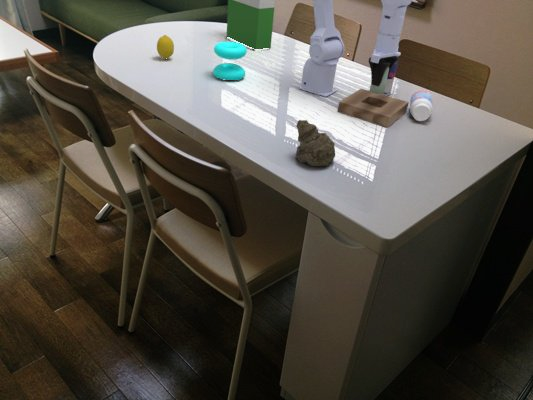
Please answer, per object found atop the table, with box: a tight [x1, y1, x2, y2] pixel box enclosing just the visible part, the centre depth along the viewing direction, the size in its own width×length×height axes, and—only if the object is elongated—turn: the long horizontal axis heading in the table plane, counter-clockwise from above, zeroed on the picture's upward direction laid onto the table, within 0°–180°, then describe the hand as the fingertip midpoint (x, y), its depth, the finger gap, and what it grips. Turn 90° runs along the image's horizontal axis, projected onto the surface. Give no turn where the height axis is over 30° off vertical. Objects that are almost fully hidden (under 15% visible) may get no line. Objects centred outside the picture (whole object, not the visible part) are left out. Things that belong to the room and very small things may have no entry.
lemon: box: [156, 34, 175, 60], centre depth 162 cm, size 6×6×8 cm
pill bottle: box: [409, 89, 433, 122], centre depth 139 cm, size 6×6×11 cm
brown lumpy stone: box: [295, 119, 336, 167], centre depth 110 cm, size 11×12×10 cm
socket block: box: [337, 88, 410, 128], centre depth 139 cm, size 15×15×3 cm
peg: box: [369, 67, 389, 94], centre depth 135 cm, size 4×4×7 cm
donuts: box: [213, 41, 248, 81], centre depth 152 cm, size 10×10×10 cm
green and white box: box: [226, 0, 276, 49], centre depth 182 cm, size 18×7×24 cm, turn 42°
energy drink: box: [382, 60, 399, 96], centre depth 151 cm, size 5×5×12 cm
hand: (378, 83), depth 136 cm, fingers closed on peg, 4 cm apart
